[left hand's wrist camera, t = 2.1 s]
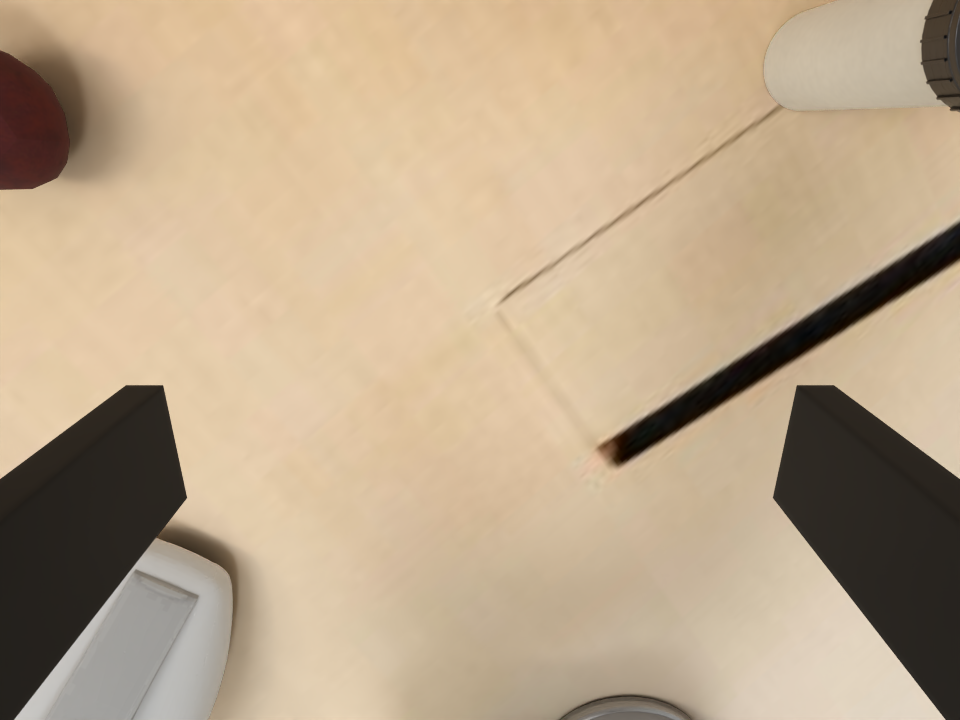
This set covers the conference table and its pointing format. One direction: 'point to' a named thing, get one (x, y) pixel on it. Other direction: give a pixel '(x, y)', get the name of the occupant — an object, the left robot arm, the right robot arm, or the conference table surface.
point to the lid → (942, 51)
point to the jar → (851, 57)
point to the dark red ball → (29, 128)
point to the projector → (147, 646)
